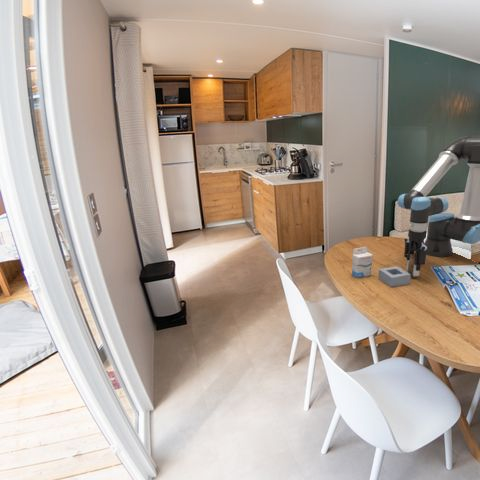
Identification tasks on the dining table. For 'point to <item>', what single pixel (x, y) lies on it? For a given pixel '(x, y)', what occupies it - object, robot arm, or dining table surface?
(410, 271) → the peg
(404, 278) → the socket
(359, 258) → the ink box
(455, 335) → the dining table surface
